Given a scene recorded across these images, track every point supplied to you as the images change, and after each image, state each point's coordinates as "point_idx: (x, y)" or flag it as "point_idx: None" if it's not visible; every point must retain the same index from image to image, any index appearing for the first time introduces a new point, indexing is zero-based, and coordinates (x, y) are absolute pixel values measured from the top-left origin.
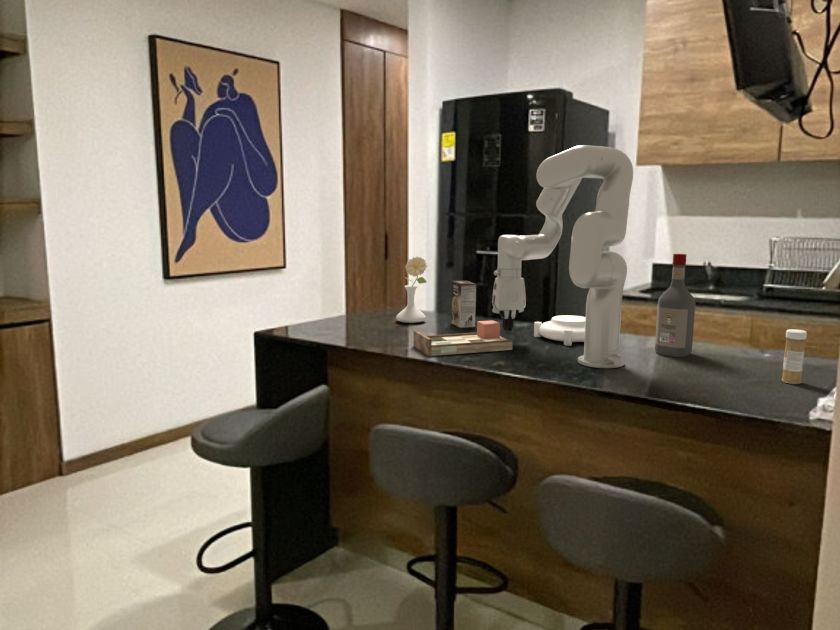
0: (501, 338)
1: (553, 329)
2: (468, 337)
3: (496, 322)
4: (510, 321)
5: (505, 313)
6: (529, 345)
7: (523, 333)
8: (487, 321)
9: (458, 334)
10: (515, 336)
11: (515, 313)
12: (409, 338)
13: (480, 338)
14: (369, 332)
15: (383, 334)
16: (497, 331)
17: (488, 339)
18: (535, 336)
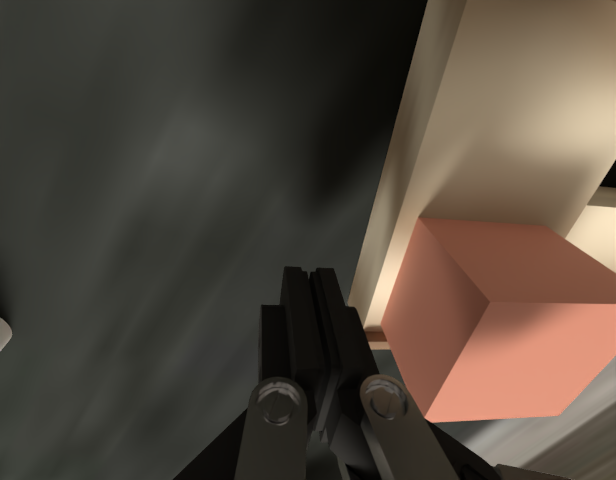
0: (445, 167)
1: None
2: None
3: (479, 347)
4: (317, 342)
5: (429, 459)
6: (173, 70)
7: (66, 400)
8: (502, 397)
9: None
10: (151, 355)
11: (240, 461)
12: (600, 410)
13: (569, 229)
14: (600, 477)
15: (599, 458)
16: (467, 246)
17: (562, 173)
18: (2, 321)
